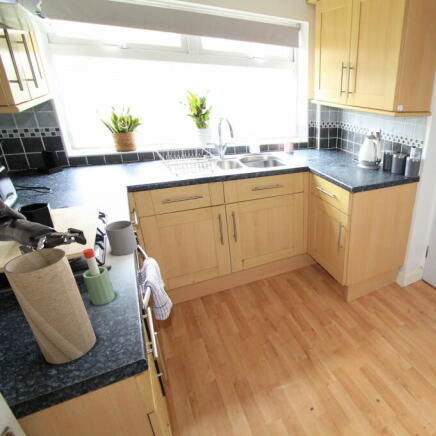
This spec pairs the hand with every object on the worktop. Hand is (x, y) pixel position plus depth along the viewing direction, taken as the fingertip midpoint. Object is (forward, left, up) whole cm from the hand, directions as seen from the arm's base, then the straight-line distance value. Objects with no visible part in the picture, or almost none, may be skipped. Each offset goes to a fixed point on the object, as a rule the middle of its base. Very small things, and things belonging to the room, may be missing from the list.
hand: (69, 248), depth 91 cm
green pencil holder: (+2, -9, -15) cm, 17 cm away
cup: (+20, +15, -15) cm, 29 cm away
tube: (-11, -22, -15) cm, 29 cm away
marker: (+2, -9, -14) cm, 17 cm away
